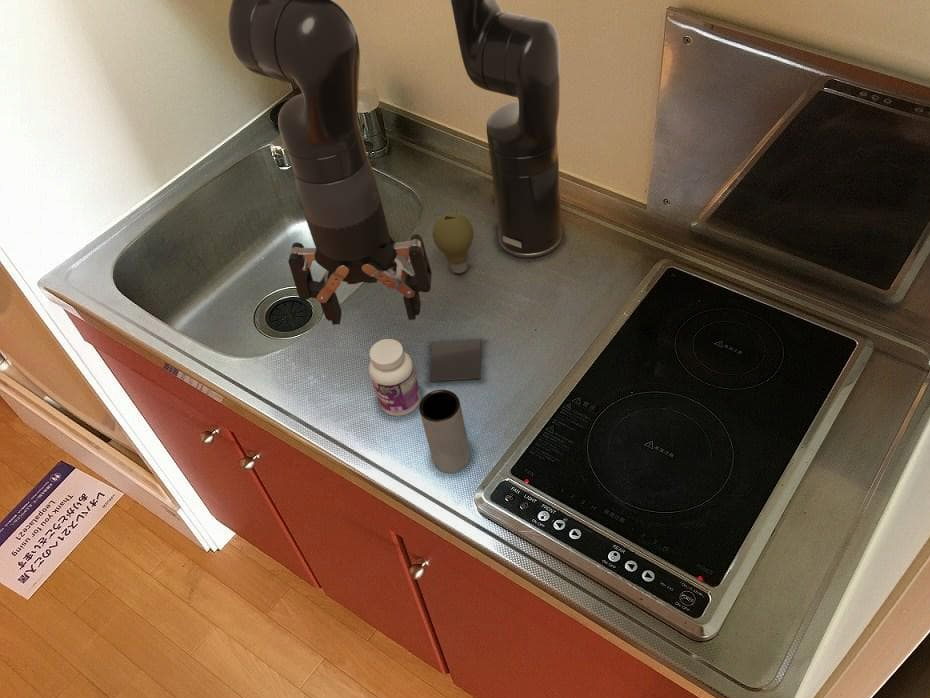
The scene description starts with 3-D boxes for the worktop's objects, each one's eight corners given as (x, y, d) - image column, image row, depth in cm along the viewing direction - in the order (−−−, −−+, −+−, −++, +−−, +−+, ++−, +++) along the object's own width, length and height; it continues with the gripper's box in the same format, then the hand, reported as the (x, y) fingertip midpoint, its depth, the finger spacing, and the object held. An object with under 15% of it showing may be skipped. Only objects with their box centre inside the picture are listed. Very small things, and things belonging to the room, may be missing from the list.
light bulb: (445, 288, 116) (434, 234, 108) (436, 263, 120) (425, 209, 112) (483, 279, 117) (475, 224, 109) (473, 254, 120) (465, 199, 113)
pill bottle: (371, 409, 103) (354, 359, 96) (394, 379, 106) (379, 328, 99) (407, 423, 102) (392, 373, 94) (429, 392, 104) (416, 342, 97)
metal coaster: (432, 345, 110) (432, 343, 109) (480, 342, 109) (480, 340, 109) (430, 382, 105) (429, 380, 105) (480, 379, 105) (480, 377, 105)
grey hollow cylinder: (450, 435, 100) (438, 382, 92) (478, 454, 98) (468, 401, 90) (425, 461, 98) (410, 408, 90) (453, 480, 96) (440, 428, 88)
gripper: (416, 172, 82) (439, 290, 94) (275, 181, 82) (317, 297, 95) (410, 220, 77) (436, 338, 89) (261, 230, 77) (307, 345, 90)
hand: (375, 317), depth 92 cm, fingers open, 8 cm apart
